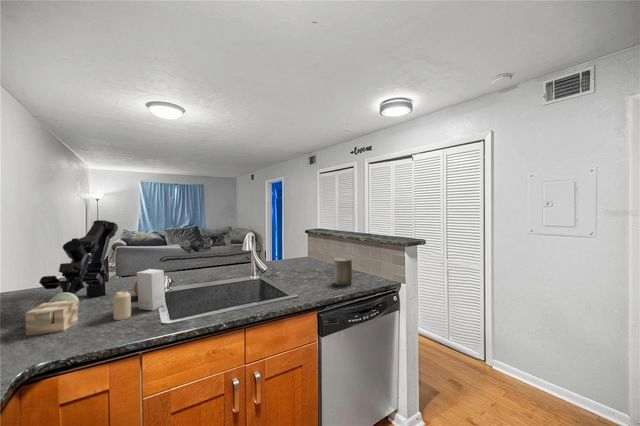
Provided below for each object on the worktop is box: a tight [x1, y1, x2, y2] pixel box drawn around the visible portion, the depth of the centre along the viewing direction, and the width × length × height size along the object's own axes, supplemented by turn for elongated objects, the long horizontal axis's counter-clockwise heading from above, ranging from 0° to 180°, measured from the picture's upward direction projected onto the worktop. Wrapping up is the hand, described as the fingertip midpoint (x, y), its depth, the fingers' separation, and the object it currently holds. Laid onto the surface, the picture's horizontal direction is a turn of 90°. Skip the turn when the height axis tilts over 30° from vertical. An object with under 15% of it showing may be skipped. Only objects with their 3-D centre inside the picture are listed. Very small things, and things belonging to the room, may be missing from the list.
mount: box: [25, 300, 79, 336], centre depth 98 cm, size 10×10×8 cm
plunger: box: [34, 292, 80, 326], centre depth 99 cm, size 14×9×9 cm, turn 19°
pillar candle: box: [333, 256, 353, 287], centre depth 154 cm, size 10×10×15 cm
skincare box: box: [136, 268, 166, 311], centre depth 117 cm, size 8×7×16 cm
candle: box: [112, 290, 132, 321], centre depth 107 cm, size 6×6×10 cm
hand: (65, 300), depth 106 cm, fingers closed, pressing on plunger
